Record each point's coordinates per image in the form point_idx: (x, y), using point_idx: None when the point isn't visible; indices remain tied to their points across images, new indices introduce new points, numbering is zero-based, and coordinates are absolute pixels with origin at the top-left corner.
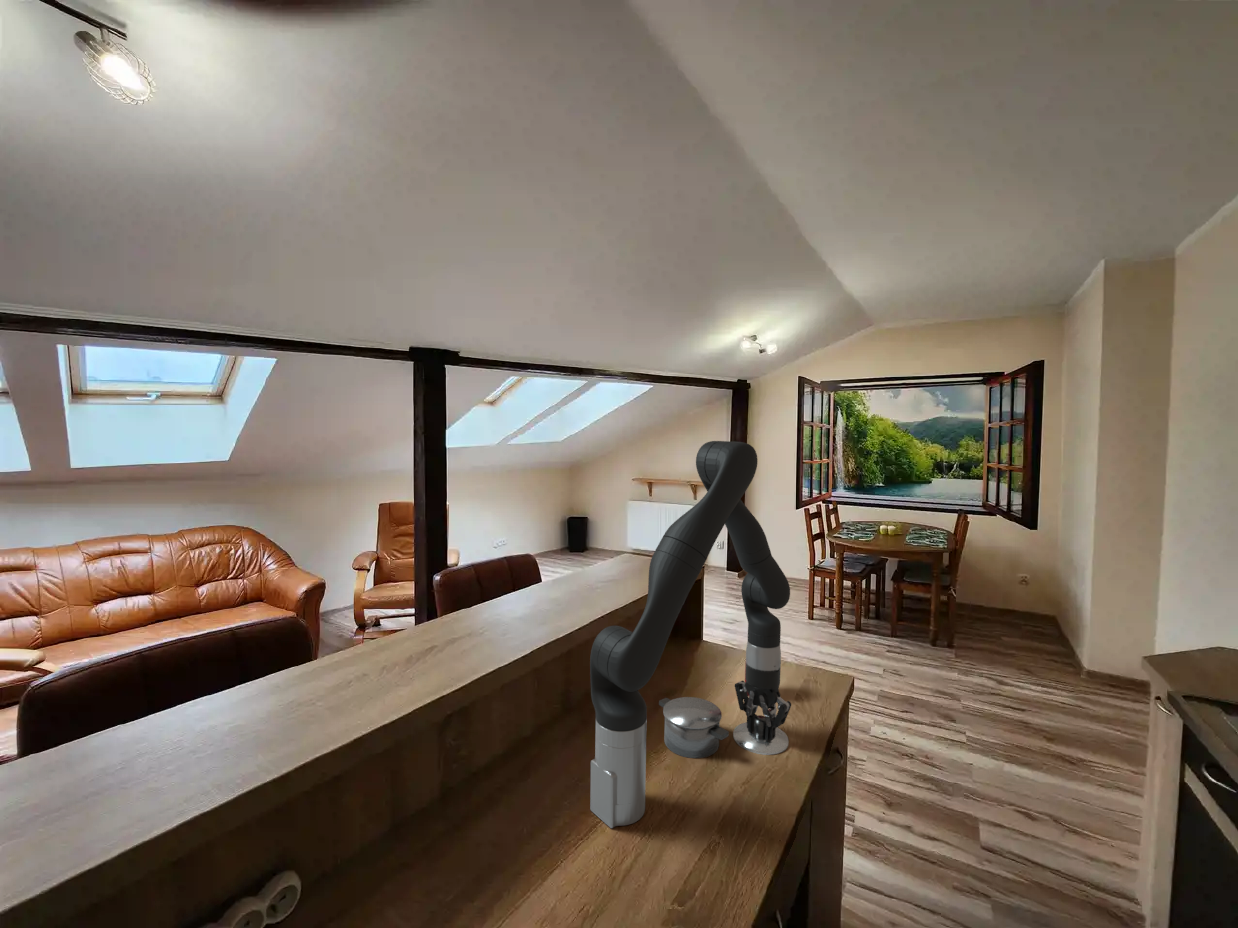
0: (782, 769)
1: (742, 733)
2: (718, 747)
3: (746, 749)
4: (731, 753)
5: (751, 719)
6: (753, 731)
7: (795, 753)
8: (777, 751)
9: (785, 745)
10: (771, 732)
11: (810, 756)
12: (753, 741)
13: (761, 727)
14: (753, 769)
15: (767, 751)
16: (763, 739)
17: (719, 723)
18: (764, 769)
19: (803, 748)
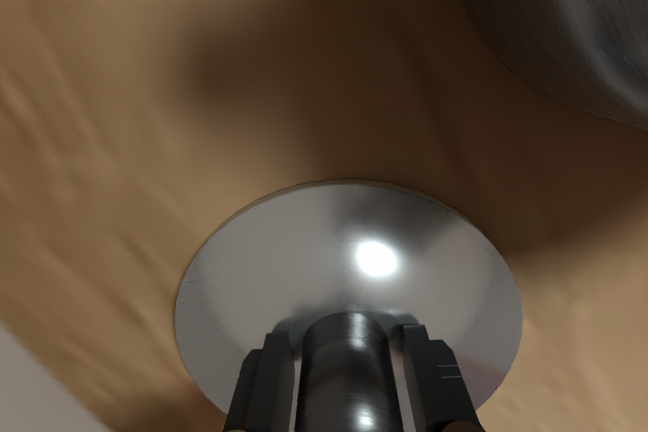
0: (34, 208)
1: (440, 284)
2: (467, 8)
3: (310, 183)
4: (341, 47)
5: (421, 410)
6: (403, 346)
7: (142, 366)
8: (176, 308)
9: (198, 375)
10: (236, 398)
11: (93, 396)
12: (330, 274)
13: (311, 391)
14: (95, 35)
15: (196, 262)
16: (307, 332)
17: (618, 40)
18: (69, 110)
19: (162, 416)
